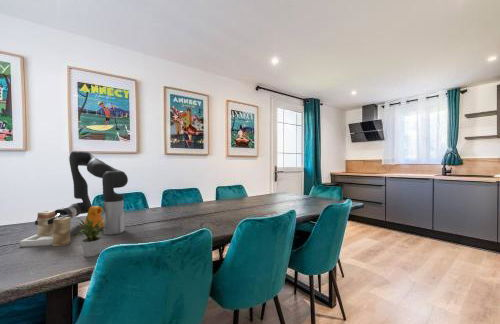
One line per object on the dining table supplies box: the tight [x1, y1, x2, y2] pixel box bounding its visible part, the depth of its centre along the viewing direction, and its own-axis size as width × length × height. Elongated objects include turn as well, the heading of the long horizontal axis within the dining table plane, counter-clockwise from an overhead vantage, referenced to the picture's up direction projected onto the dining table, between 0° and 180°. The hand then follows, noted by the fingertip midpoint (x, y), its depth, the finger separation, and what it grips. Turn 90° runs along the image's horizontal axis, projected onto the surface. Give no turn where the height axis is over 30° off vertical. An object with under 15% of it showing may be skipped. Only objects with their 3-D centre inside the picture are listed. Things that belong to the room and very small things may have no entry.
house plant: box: [70, 216, 112, 258], centre depth 95 cm, size 14×14×16 cm
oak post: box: [52, 217, 71, 247], centre depth 107 cm, size 4×4×12 cm
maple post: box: [36, 210, 55, 236], centre depth 111 cm, size 5×5×11 cm
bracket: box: [83, 205, 104, 229], centre depth 137 cm, size 11×7×12 cm, turn 171°
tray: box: [19, 233, 53, 248], centre depth 111 cm, size 13×13×2 cm
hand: (42, 222), depth 109 cm, fingers closed on maple post, 4 cm apart
